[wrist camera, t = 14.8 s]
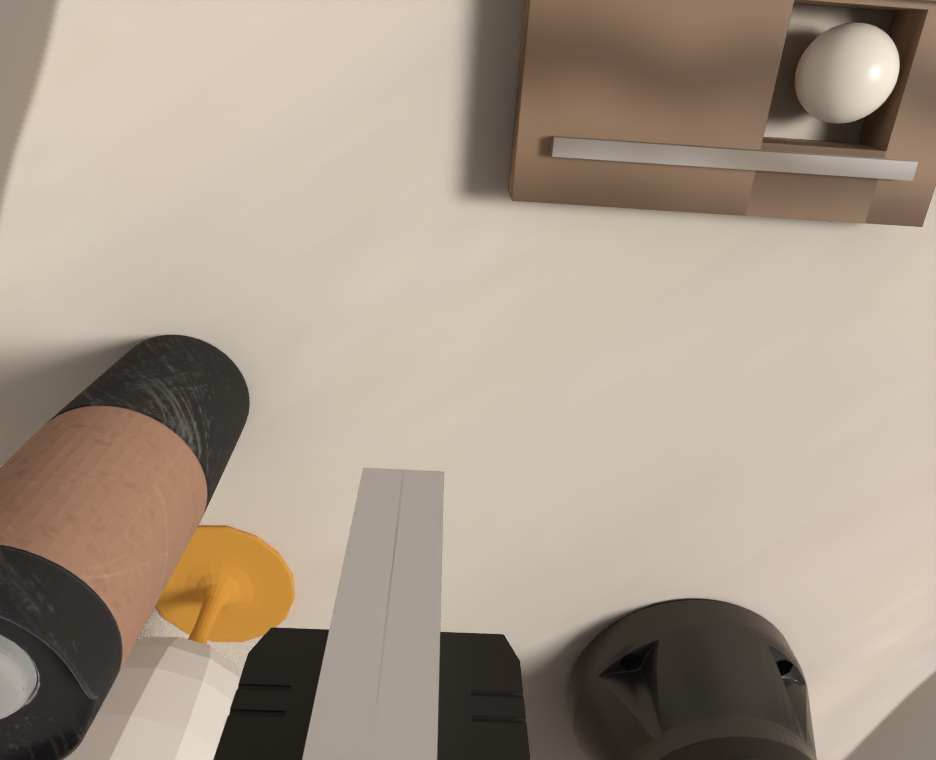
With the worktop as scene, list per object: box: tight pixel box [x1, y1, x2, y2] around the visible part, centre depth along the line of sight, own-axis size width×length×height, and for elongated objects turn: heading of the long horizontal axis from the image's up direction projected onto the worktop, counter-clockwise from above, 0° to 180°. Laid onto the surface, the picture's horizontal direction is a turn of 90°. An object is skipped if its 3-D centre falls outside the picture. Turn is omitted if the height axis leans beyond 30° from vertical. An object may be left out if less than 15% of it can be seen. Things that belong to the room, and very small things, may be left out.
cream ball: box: [795, 23, 900, 124], centre depth 32 cm, size 4×4×4 cm
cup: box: [64, 526, 295, 760], centre depth 38 cm, size 12×12×17 cm
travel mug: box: [0, 335, 249, 760], centre depth 31 cm, size 8×8×20 cm
